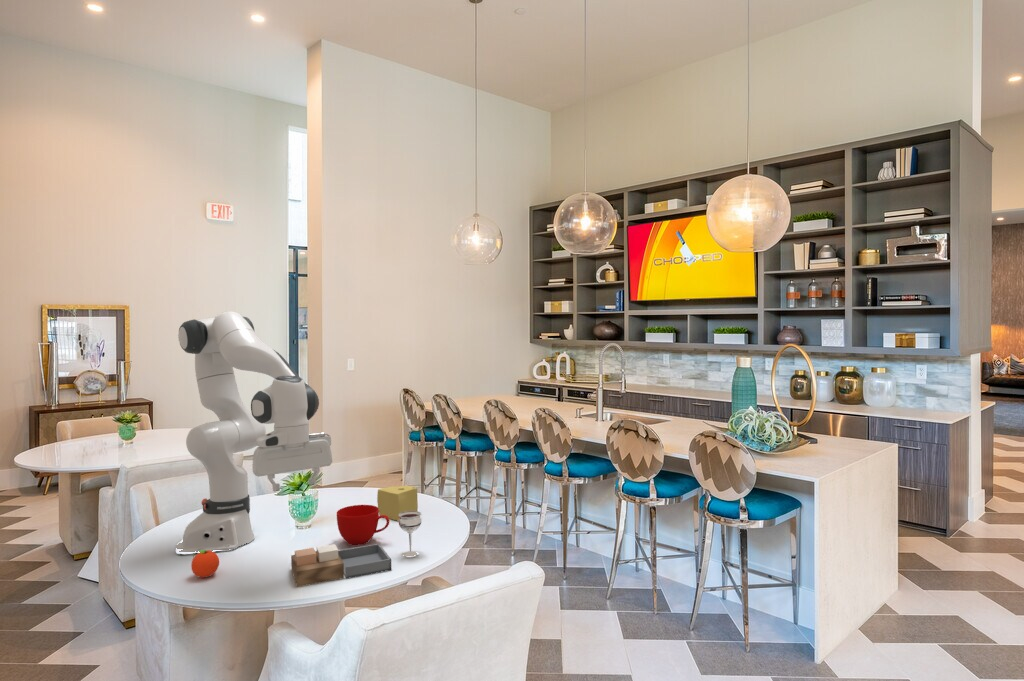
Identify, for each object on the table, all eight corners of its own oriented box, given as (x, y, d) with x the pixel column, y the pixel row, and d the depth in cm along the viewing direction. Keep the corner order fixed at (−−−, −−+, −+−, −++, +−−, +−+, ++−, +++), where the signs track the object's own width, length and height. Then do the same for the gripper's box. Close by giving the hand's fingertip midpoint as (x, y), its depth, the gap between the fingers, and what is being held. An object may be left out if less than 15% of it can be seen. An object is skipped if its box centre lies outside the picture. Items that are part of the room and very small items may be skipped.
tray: (346, 578, 165) (345, 567, 165) (336, 560, 178) (336, 550, 177) (391, 569, 170) (391, 559, 170) (379, 553, 183) (379, 543, 183)
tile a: (319, 562, 166) (319, 553, 166) (316, 556, 171) (316, 547, 171) (338, 558, 168) (338, 549, 168) (335, 553, 173) (334, 544, 173)
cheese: (398, 509, 227) (398, 483, 227) (419, 514, 221) (419, 487, 221) (377, 517, 219) (376, 489, 219) (398, 522, 213) (397, 493, 213)
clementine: (182, 579, 166) (181, 553, 166) (203, 569, 173) (202, 544, 172) (205, 583, 163) (204, 556, 163) (225, 573, 170) (224, 547, 170)
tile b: (296, 566, 164) (296, 556, 164) (294, 559, 168) (294, 550, 168) (316, 562, 166) (316, 553, 166) (313, 556, 170) (313, 547, 170)
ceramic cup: (381, 551, 185) (380, 518, 185) (329, 548, 188) (328, 515, 188) (397, 536, 198) (396, 506, 197) (348, 534, 201) (348, 503, 201)
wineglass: (402, 549, 186) (401, 510, 185) (424, 550, 185) (423, 511, 185) (396, 558, 179) (395, 517, 179) (418, 558, 178) (418, 517, 178)
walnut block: (297, 586, 160) (296, 571, 160) (291, 569, 172) (291, 555, 172) (343, 578, 165) (343, 563, 165) (335, 561, 177) (335, 548, 177)
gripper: (327, 430, 173) (329, 479, 173) (249, 440, 161) (252, 492, 161) (334, 432, 168) (336, 482, 167) (254, 442, 156) (257, 496, 156)
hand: (294, 487), depth 164 cm, fingers open, 8 cm apart
